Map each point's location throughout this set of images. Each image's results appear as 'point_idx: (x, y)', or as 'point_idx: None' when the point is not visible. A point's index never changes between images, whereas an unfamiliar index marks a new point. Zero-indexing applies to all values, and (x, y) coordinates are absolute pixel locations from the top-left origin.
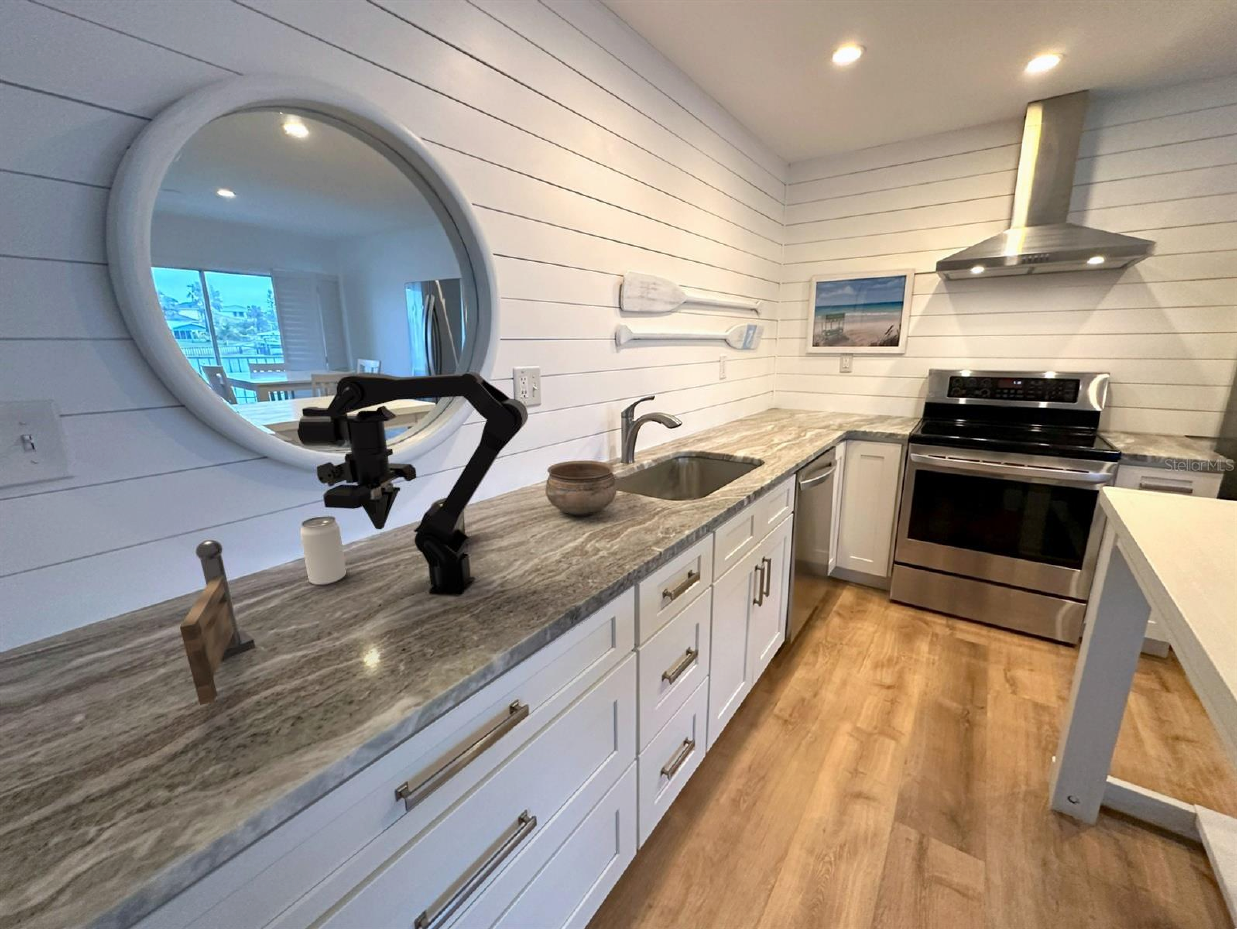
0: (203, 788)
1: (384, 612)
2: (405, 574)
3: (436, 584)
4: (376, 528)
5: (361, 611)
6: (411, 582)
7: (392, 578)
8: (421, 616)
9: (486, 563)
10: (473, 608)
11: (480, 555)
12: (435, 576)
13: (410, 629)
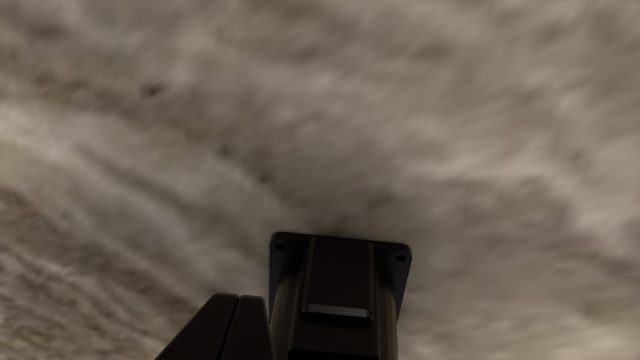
0: None
1: (110, 133)
2: (457, 71)
3: (294, 270)
4: (214, 301)
5: (83, 35)
6: (367, 134)
7: (412, 22)
8: (128, 254)
9: (529, 336)
10: None
11: (620, 307)
12: (293, 296)
13: (53, 250)
